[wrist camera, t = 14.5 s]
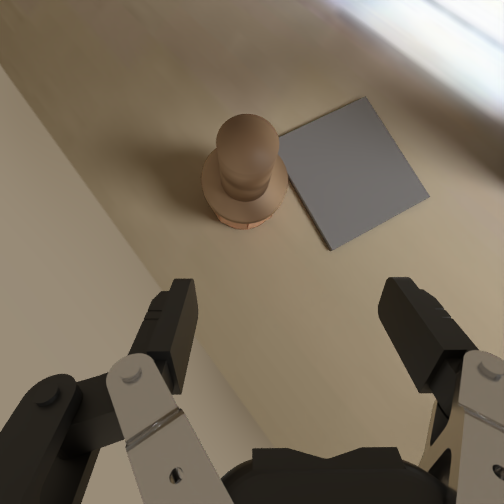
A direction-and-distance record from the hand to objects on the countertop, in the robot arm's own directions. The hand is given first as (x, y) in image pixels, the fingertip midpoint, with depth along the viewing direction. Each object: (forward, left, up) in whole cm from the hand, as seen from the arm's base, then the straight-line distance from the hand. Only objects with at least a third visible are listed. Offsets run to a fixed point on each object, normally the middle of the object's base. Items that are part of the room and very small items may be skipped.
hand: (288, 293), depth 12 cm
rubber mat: (-19, -8, -21) cm, 29 cm away
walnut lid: (-4, -11, -16) cm, 20 cm away
